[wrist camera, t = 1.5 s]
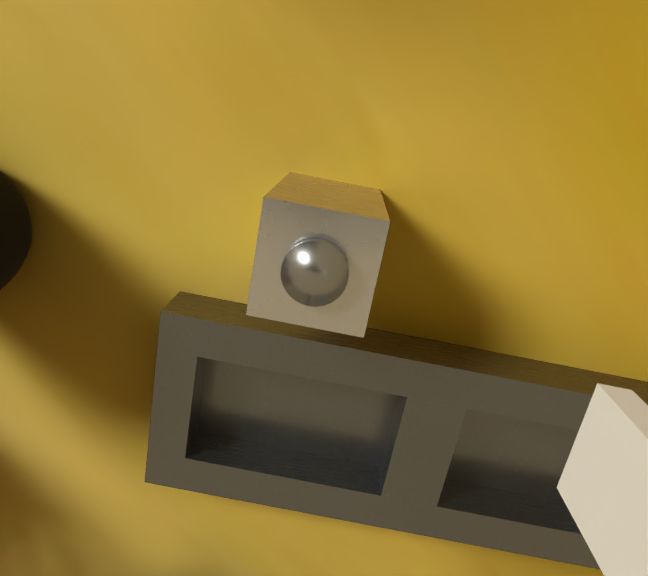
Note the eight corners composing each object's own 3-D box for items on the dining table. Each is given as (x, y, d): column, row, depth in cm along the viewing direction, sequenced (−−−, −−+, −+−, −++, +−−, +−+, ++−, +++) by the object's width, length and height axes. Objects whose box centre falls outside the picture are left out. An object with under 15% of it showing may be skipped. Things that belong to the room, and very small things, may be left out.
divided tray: (180, 291, 28) (160, 311, 26) (695, 391, 29) (733, 422, 26) (163, 448, 32) (144, 482, 29) (627, 537, 32) (654, 579, 29)
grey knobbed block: (290, 172, 26) (260, 199, 18) (380, 189, 26) (391, 224, 18) (275, 259, 28) (242, 320, 20) (361, 275, 28) (364, 344, 20)
